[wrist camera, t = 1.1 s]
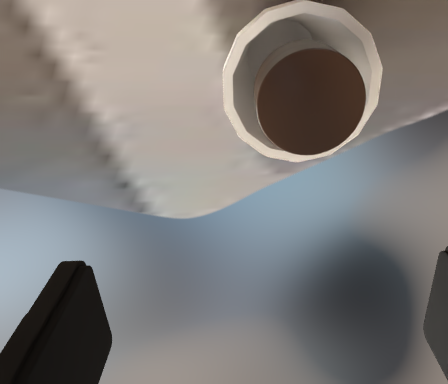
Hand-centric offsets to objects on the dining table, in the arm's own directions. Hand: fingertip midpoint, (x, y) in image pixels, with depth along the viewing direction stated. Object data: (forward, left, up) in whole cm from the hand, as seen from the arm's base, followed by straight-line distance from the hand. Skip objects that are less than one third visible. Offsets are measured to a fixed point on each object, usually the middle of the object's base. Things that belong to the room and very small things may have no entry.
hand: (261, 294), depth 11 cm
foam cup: (-4, -1, -29) cm, 29 cm away
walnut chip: (-4, -1, -15) cm, 16 cm away
